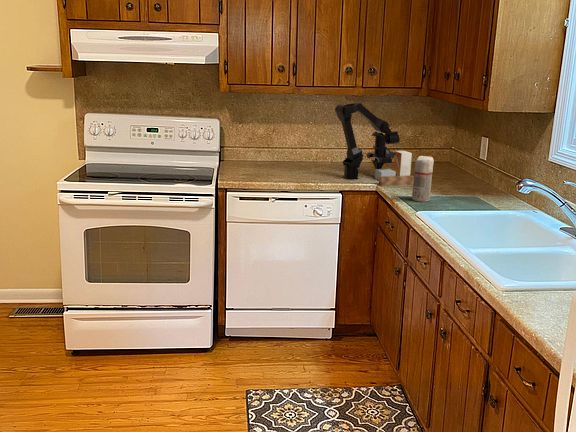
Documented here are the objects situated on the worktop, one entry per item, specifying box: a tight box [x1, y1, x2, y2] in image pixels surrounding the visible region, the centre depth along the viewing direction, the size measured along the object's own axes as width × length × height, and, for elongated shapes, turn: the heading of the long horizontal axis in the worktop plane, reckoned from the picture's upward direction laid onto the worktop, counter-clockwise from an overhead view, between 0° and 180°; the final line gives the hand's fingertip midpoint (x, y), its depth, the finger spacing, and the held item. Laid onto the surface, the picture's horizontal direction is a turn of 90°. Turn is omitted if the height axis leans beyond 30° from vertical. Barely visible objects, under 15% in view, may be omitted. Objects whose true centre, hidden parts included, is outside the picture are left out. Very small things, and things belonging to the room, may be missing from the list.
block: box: [374, 168, 397, 181], centre depth 325 cm, size 8×8×5 cm
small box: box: [392, 150, 413, 176], centre depth 336 cm, size 8×6×13 cm
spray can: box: [411, 155, 435, 203], centre depth 280 cm, size 8×8×20 cm
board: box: [378, 174, 414, 187], centre depth 314 cm, size 18×3×4 cm, turn 108°
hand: (378, 173), depth 333 cm, fingers closed
